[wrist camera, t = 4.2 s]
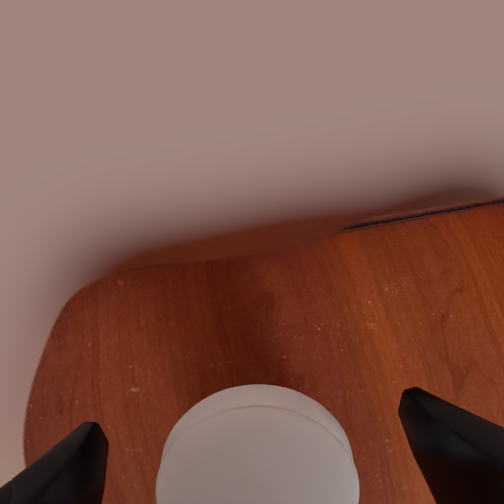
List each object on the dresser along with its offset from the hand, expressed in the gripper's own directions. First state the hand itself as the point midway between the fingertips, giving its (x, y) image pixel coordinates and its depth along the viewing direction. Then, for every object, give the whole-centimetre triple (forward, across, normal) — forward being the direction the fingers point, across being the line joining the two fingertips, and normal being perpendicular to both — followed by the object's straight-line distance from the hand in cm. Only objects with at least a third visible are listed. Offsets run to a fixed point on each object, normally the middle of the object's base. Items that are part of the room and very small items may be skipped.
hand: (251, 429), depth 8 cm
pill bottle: (+4, 0, +6) cm, 7 cm away
